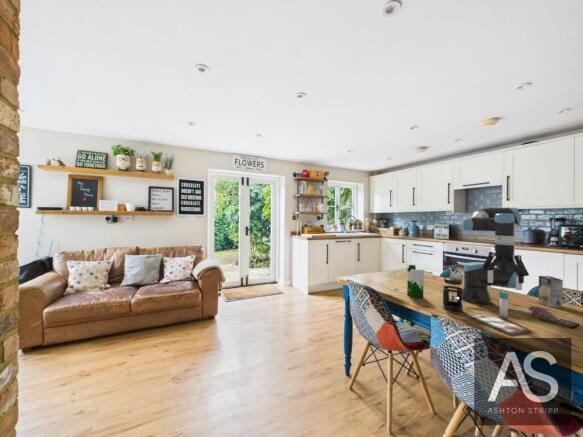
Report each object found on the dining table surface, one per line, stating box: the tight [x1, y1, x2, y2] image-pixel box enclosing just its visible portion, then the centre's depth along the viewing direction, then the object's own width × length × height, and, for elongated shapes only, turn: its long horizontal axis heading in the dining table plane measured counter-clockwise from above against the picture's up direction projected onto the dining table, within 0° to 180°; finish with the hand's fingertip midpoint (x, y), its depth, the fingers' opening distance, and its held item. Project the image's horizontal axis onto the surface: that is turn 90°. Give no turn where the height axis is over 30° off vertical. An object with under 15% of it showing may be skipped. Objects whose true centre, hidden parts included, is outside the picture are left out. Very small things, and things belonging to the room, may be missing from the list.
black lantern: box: [442, 267, 464, 314], centre depth 139 cm, size 12×9×23 cm
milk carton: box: [406, 264, 425, 299], centre depth 162 cm, size 9×9×20 cm
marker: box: [498, 291, 509, 321], centre depth 126 cm, size 3×3×13 cm
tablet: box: [466, 313, 532, 336], centre depth 119 cm, size 20×12×1 cm, turn 13°
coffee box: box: [538, 275, 564, 308], centre depth 148 cm, size 9×6×16 cm
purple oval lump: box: [528, 305, 558, 322], centre depth 127 cm, size 10×5×7 cm, turn 6°
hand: (503, 286), depth 126 cm, fingers open, 13 cm apart
